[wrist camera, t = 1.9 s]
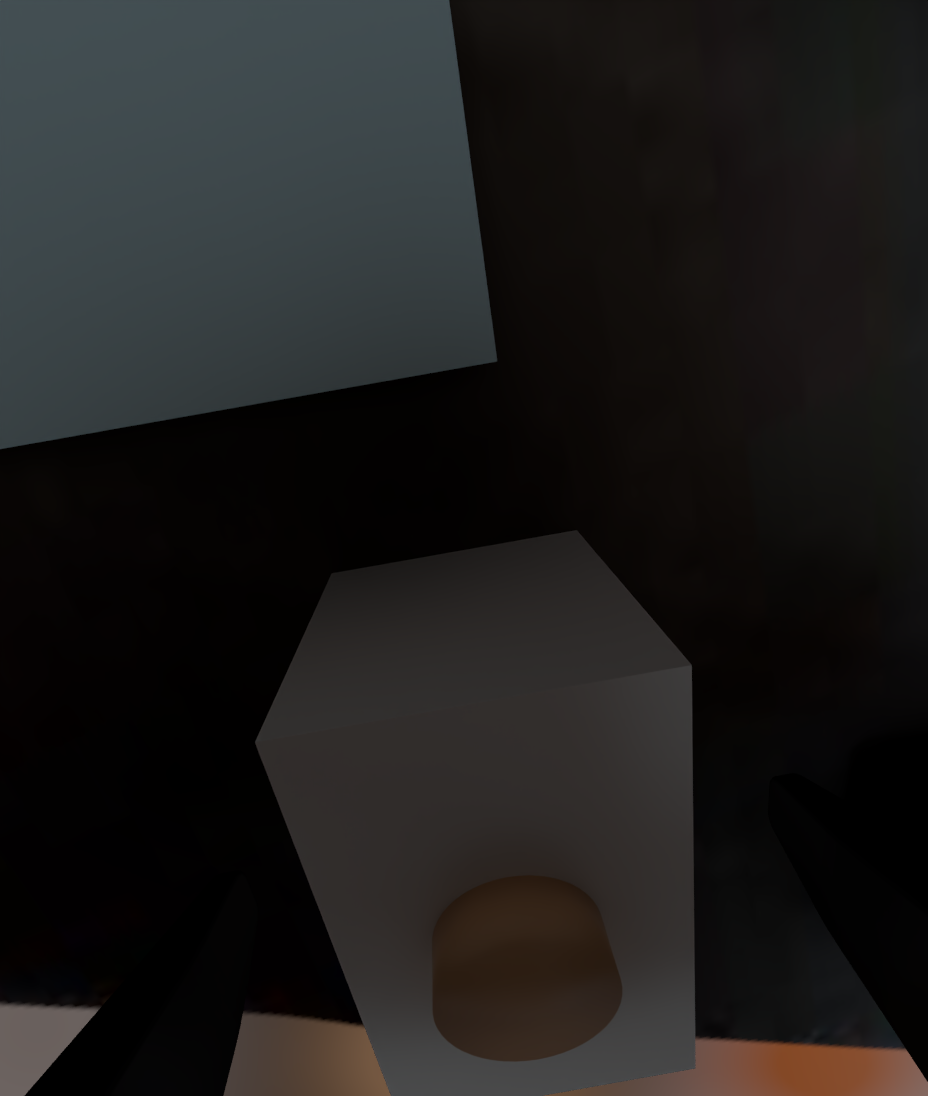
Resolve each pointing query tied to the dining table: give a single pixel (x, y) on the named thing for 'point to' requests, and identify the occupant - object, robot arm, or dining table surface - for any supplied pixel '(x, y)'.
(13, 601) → the dining table surface
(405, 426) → the dining table surface
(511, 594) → the grey housing
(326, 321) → the teal stand
